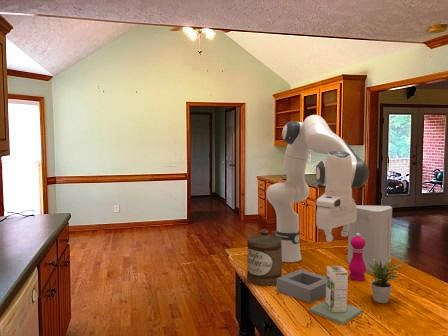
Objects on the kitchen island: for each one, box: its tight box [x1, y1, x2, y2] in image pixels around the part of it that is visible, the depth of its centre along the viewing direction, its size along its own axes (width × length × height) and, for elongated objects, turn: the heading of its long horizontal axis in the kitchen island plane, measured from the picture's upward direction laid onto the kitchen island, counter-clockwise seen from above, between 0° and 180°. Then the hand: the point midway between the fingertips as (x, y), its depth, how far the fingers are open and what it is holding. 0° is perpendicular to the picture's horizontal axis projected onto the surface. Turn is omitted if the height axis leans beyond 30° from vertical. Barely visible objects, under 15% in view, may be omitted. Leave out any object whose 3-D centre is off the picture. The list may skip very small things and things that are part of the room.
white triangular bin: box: [347, 204, 393, 273], centre depth 177 cm, size 19×15×28 cm
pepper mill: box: [348, 233, 367, 282], centre depth 162 cm, size 7×7×20 cm
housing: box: [276, 268, 327, 304], centre depth 149 cm, size 16×16×5 cm
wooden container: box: [246, 228, 283, 287], centre depth 161 cm, size 15×15×22 cm
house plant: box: [364, 257, 402, 304], centre depth 139 cm, size 14×14×16 cm
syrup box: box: [325, 265, 349, 312], centre depth 131 cm, size 6×6×14 cm
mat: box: [308, 299, 364, 326], centre depth 131 cm, size 13×13×1 cm
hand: (337, 238), depth 129 cm, fingers open, 8 cm apart
